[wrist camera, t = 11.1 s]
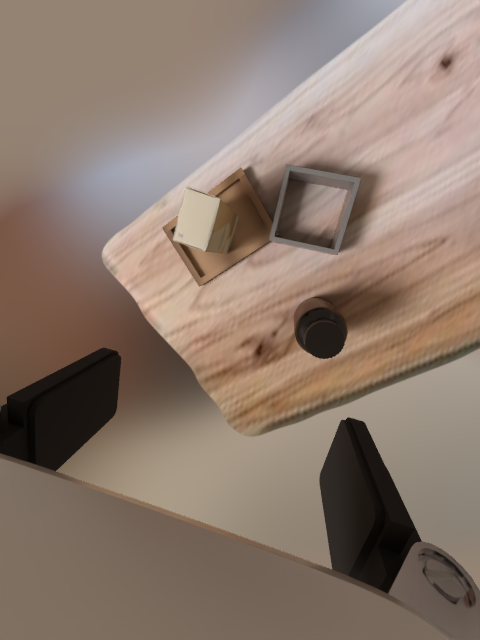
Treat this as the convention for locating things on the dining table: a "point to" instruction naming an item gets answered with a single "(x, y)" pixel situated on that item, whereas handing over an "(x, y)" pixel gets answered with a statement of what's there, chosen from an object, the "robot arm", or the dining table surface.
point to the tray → (247, 234)
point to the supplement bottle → (319, 328)
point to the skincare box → (205, 222)
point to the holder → (321, 179)
